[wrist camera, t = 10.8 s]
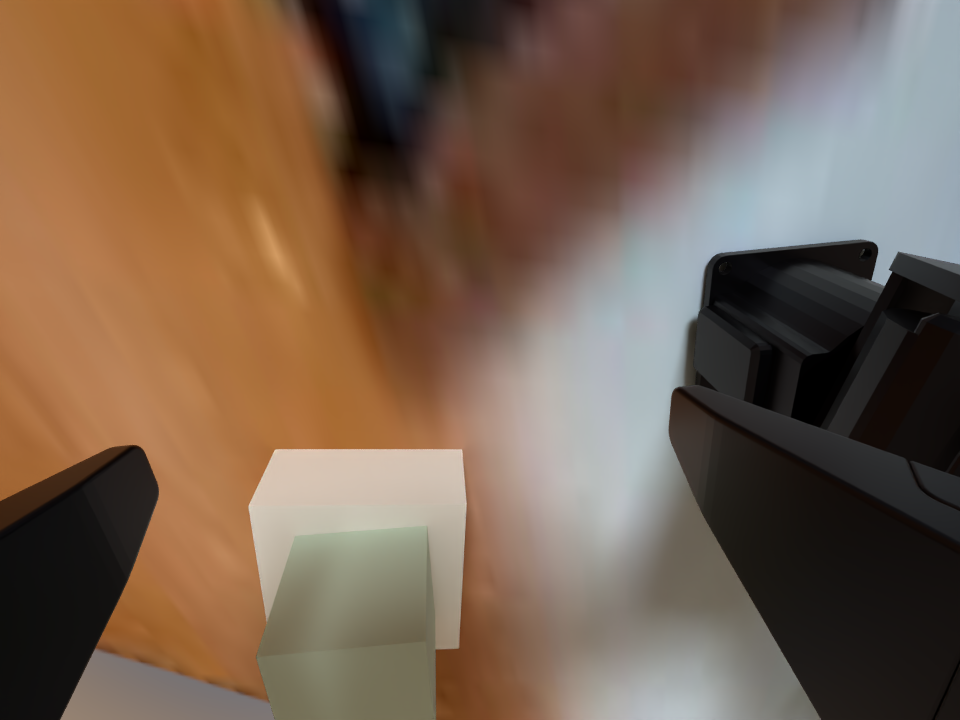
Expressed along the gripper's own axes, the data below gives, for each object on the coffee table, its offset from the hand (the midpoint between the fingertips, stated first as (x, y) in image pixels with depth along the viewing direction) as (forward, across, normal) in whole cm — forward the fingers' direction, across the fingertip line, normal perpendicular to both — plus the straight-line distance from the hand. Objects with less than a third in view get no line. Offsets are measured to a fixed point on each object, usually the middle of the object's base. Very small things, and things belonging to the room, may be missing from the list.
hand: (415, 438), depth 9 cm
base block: (+12, +4, +12) cm, 18 cm away
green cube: (+8, +4, +12) cm, 15 cm away
